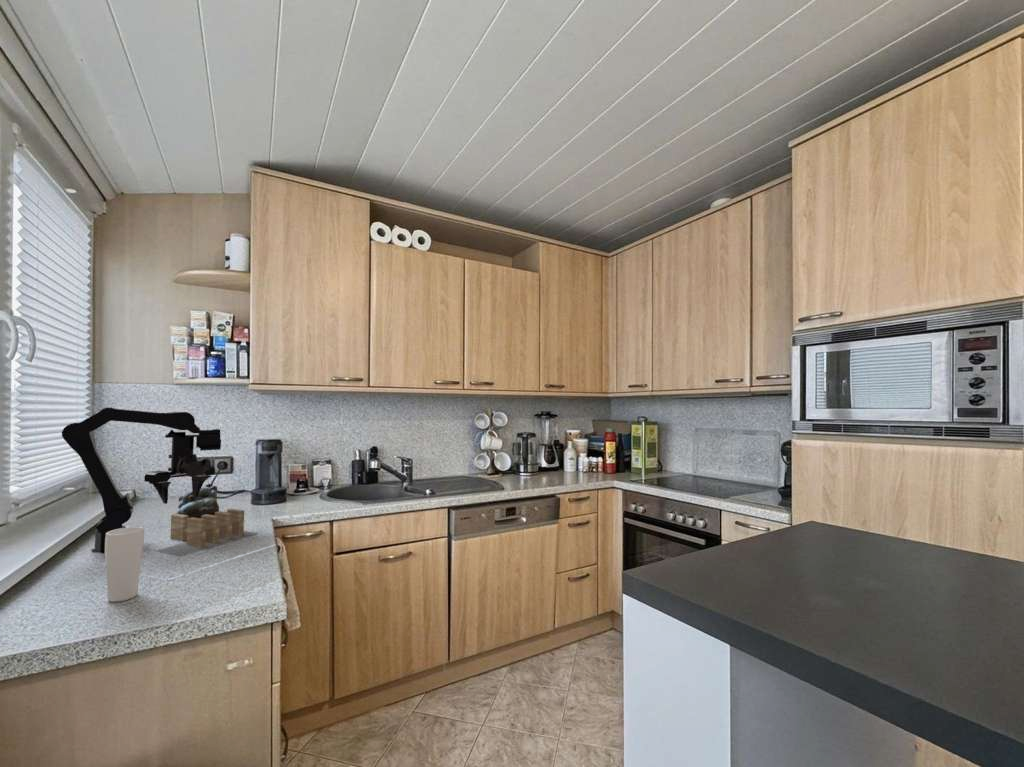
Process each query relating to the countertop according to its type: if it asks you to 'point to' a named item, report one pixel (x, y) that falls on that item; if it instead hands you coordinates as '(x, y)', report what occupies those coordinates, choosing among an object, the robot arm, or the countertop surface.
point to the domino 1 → (179, 527)
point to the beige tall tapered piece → (123, 562)
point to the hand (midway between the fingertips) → (180, 500)
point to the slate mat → (186, 549)
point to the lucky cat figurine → (199, 502)
